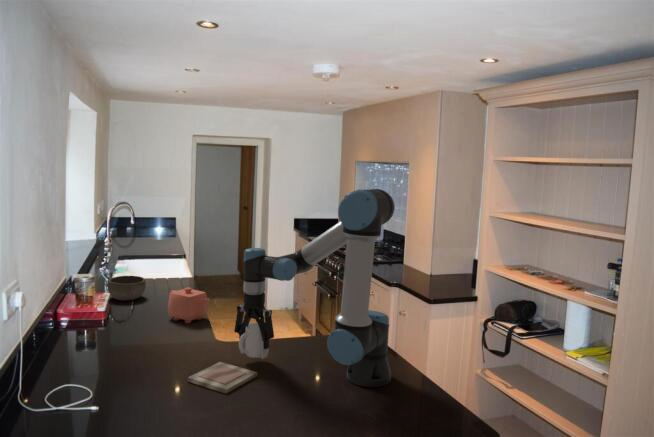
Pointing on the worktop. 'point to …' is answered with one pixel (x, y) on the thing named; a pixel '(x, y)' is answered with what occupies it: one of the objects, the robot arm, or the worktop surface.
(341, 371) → the worktop surface
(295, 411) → the worktop surface
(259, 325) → the robot arm
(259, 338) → the mug
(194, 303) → the teapot
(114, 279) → the bowl
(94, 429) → the worktop surface
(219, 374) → the board
